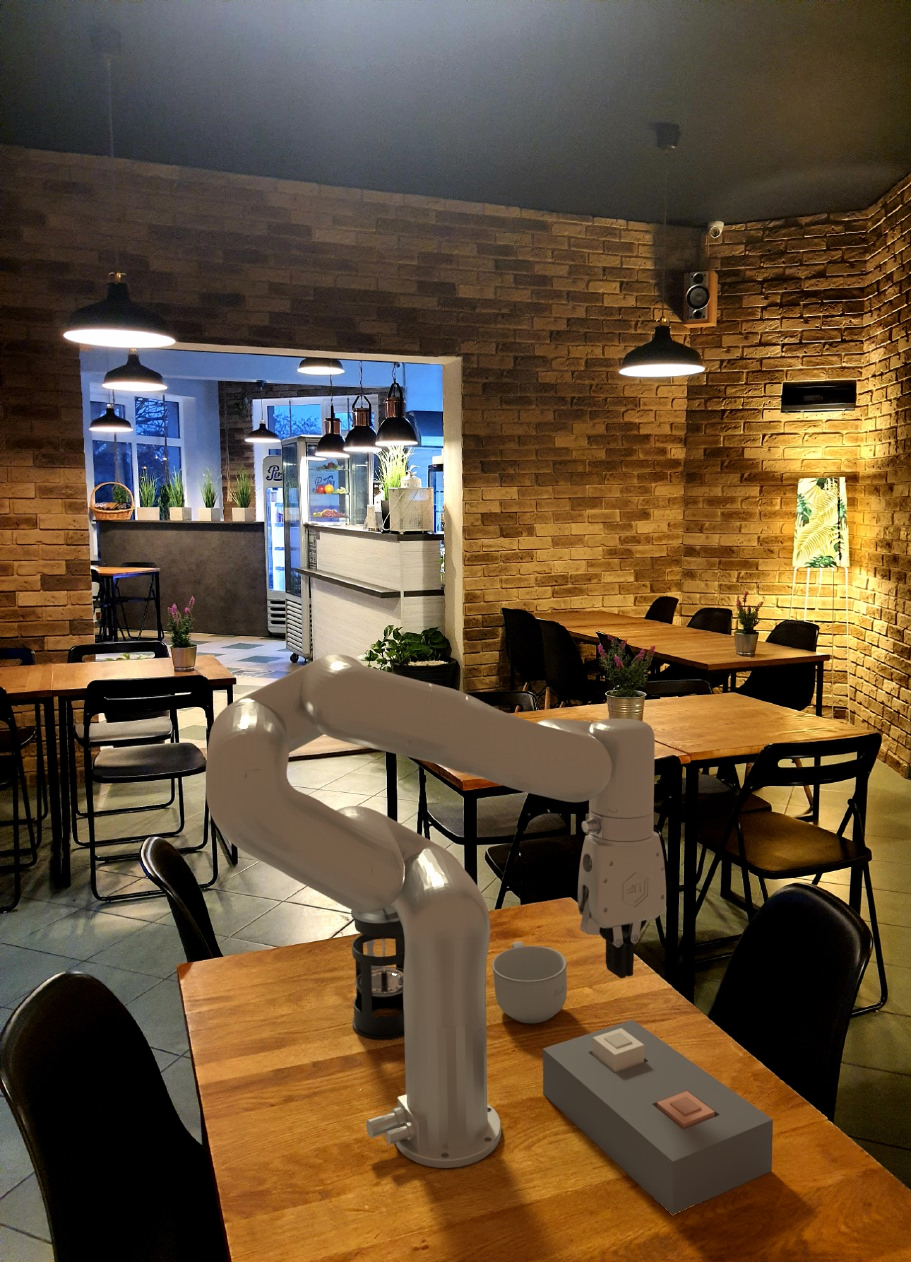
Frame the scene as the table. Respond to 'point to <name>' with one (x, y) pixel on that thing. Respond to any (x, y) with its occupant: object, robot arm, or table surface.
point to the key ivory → (618, 1050)
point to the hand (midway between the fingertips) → (619, 972)
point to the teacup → (530, 982)
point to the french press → (378, 975)
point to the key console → (659, 1119)
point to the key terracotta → (685, 1110)
